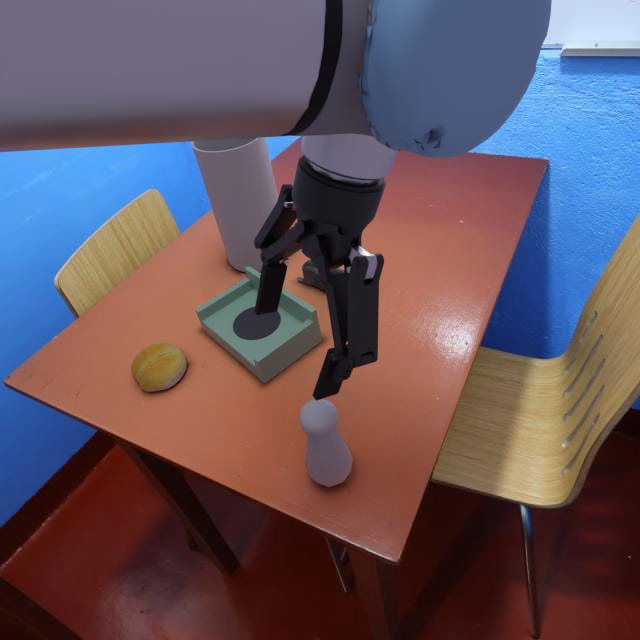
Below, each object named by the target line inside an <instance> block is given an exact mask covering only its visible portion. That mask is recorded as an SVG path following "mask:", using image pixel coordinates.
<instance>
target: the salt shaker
mask: <svg viewBox="0 0 640 640" xmlns="http://www.w3.org/2000/svg"><path fill="white" fill-rule="evenodd" d="M339 415H340V414H339V412H338V410H337V408H336V406H335V404H334V403H333V402H331V401H330V400H329V399H326V398H323V399H320V400H317V401H316V400H315V398H313V399H311V400H309V401H308V402H306V403H305V404H304V405H303V406H302V407H301V408H300V411H299V416H298V417H299V418H298V419H299V423H300V427H301V430H302V431H303V432H304V433H305V434H306V449H305V450H306V452H305V467H306V471H307V475H308V476H309V477H310V478H311V480H313V481H314V482H315V483H316V484H319V485H322V486H325V487H327V488H331V487H334V486H338V485H339V484H342V483H344V482H345V481H346V479H347V477H349V474H350V473H352V467H353V460H354V458H353V455H352V453H351V451H350V449H349V448H348V446H347V444H346V442H345V440H344V439H343V437H342V435H341V433H340V431H339V429H338V426H339V419H340V418H339V417H340V416H339Z"/></svg>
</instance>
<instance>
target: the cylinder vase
mask: <svg viewBox="0 0 640 640" xmlns="http://www.w3.org/2000/svg"><path fill="white" fill-rule="evenodd" d="M191 147H192V150H193V154H194V156H195V160H196V163H197V166H198V169H199V172H200V175H201V179H202V182H203V185H204V188H205V192H206V194H207V197H208V199H209V204H210V206H211V209H212V213H213V216H214V220H215V222H216V225H217V228H218V231H219V234H220V238H221V240H222V244H223V247H224V250H225V254H226V256H227V259H228V262H229V264H230V266H231V267H232V268H234V269H235V270H237V271H239V272H243V273H246V272H245V268H246V267H247V266H250V267H252V268H253V269H255V270H256V271H258V272H259V273H261V269H262V264H263V262H262V261H261V258H260V254H261V250H260V249H256V248H255V245H254V240H255V238H256V236H257V234H258V233H259V231H260V229H261V228H262V226H263V225H264V223H265V221H266V220H267V218H268V216H269V215H270V213H271V211H272V210H273V208H274V206H275V205H276V203H277V201H278V198H279V194H278V189H277V185H276V181H275V180H276V179H275V177H274V176H275V175H274V172H273V166H272V162H271V156H270V151H269V147H268V143H267V137H261V138H244V139H226V140H208V141H191ZM283 261H284V260H282V261H280V263H283Z"/></svg>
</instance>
